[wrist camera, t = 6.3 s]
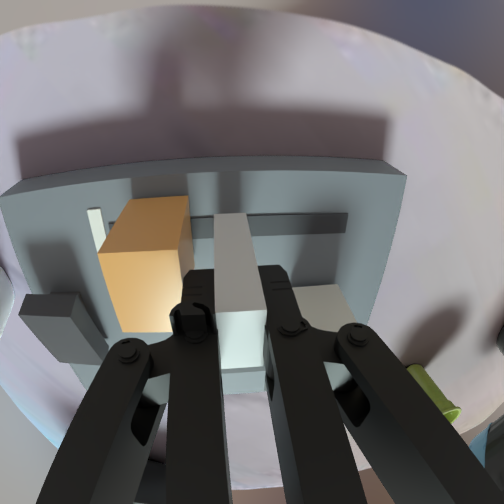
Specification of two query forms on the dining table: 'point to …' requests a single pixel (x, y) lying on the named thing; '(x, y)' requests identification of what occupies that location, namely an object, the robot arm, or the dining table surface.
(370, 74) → the dining table surface
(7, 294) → the foam cup
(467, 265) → the dining table surface
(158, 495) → the bowl of black rocks
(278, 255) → the panel
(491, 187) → the dining table surface
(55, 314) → the block
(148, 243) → the slider orange
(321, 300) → the slider cream
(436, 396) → the plant pot
